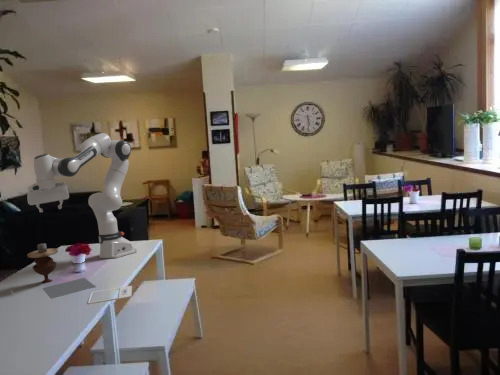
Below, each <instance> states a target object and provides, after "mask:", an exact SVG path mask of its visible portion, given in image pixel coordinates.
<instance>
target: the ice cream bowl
mask: <svg viewBox="0 0 500 375" xmlns="http://www.w3.org/2000/svg"><path fill="white" fill-rule="evenodd" d="M34 263H35V264H34V265H33V266H32V270H33V271H34V272H35V273H37V274H38V275H41V276H43V277H44V280H42V281H41V284H47V283H48V284H49V283H51V282H53V279H50V278H49V275H50V274H51V273H53V271H54V270H55V269H56V267H57V262H56V261H55V260H54V259H53V258H52V257H51V256H45V257H39V258H34Z"/></svg>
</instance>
